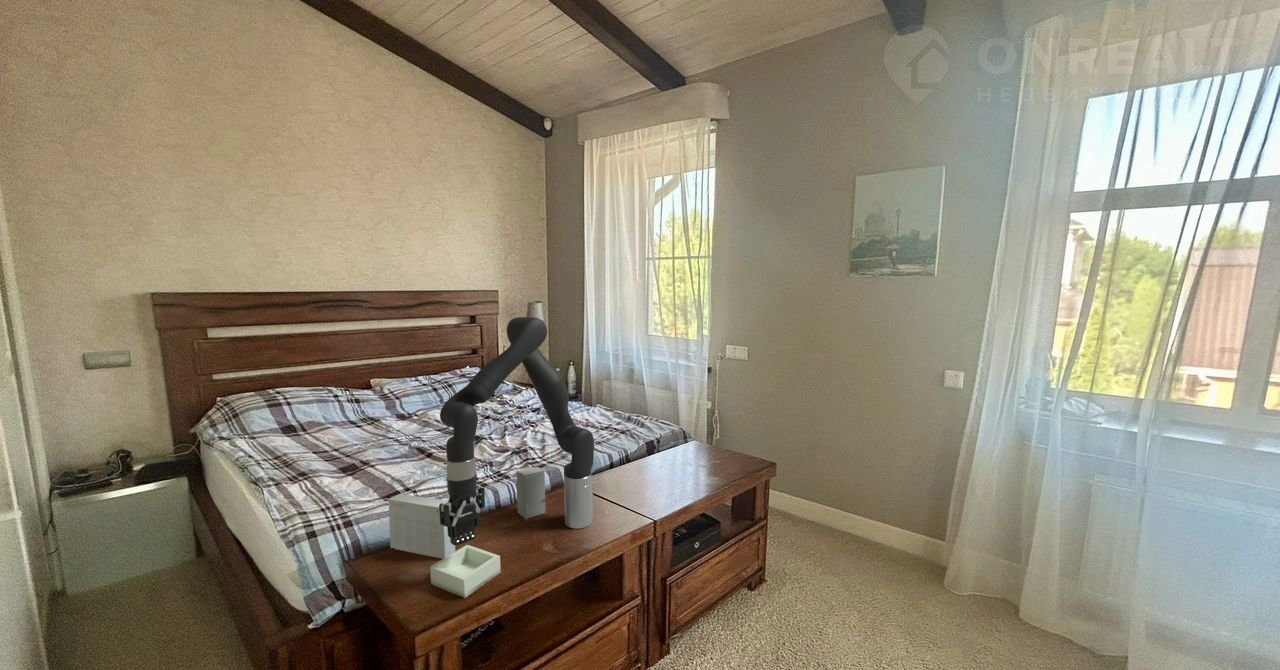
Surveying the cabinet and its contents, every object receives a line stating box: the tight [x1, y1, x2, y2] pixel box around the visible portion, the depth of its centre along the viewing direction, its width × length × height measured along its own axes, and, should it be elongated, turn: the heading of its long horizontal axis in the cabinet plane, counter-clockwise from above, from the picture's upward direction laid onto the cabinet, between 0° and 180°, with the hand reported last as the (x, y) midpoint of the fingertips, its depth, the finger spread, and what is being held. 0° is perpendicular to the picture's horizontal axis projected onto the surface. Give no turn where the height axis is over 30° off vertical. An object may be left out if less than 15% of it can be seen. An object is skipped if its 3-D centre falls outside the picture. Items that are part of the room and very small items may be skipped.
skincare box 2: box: [515, 465, 546, 520], centre depth 178 cm, size 8×7×16 cm
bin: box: [429, 544, 502, 599], centre depth 140 cm, size 13×13×5 cm
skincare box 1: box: [387, 493, 456, 560], centre depth 155 cm, size 21×5×16 cm, turn 71°
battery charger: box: [450, 502, 477, 546], centre depth 139 cm, size 7×4×11 cm, turn 131°
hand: (464, 531), depth 139 cm, fingers closed on battery charger, 7 cm apart
